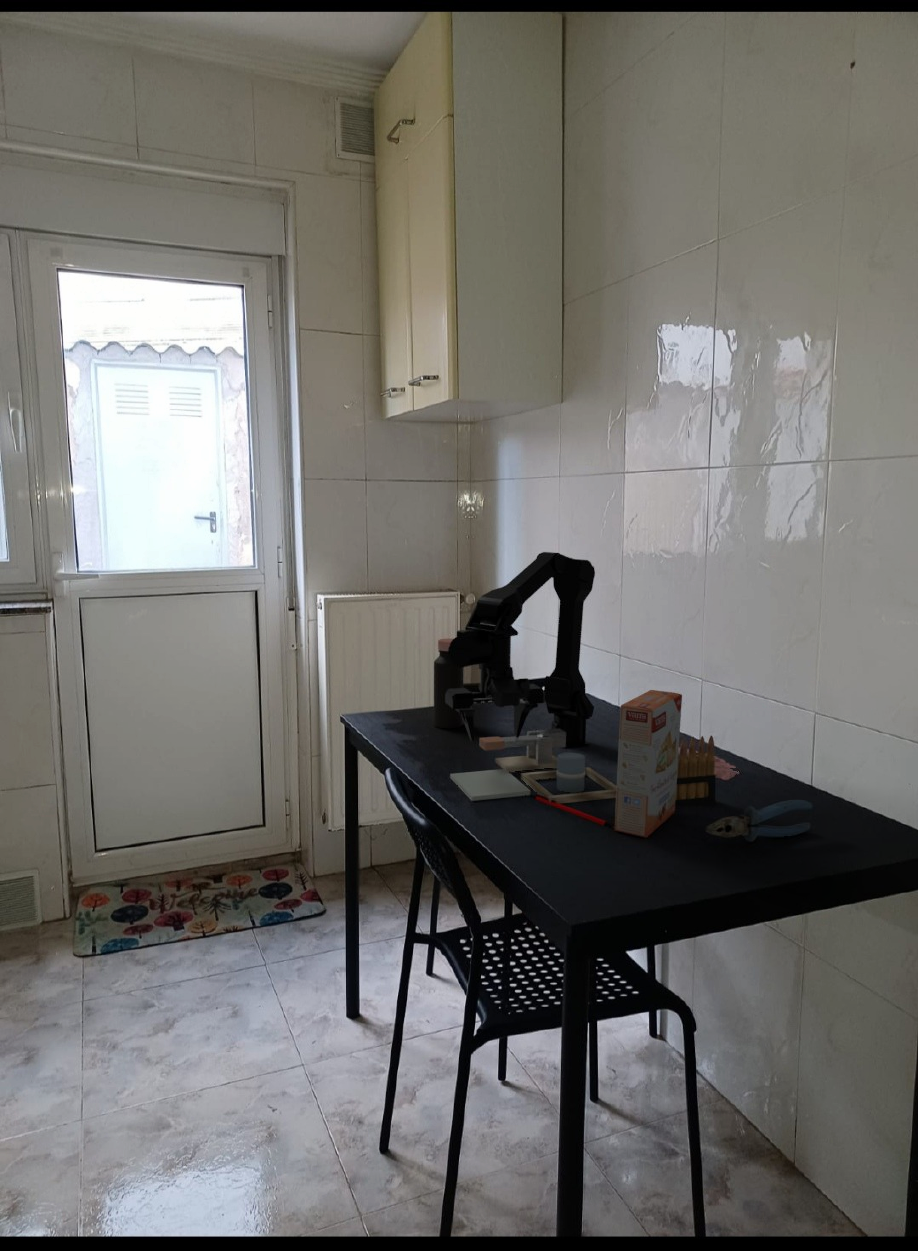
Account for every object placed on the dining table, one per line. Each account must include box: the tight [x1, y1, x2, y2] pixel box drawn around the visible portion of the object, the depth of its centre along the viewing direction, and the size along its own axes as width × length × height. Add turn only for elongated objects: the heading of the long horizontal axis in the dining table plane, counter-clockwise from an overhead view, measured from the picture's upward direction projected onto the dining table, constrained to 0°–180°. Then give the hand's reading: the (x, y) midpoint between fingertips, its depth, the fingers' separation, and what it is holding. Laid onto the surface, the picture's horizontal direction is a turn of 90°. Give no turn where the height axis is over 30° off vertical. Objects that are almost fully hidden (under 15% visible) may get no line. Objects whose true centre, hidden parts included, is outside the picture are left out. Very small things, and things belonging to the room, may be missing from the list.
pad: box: [449, 768, 531, 802], centre depth 161 cm, size 11×13×1 cm
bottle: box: [433, 638, 465, 730], centre depth 202 cm, size 7×7×20 cm
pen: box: [530, 793, 615, 829], centre depth 149 cm, size 1×19×1 cm, turn 39°
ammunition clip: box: [675, 735, 717, 808], centre depth 152 cm, size 11×2×12 cm, turn 106°
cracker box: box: [614, 689, 683, 839], centre depth 143 cm, size 14×6×21 cm, turn 148°
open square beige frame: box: [520, 766, 617, 805], centre depth 161 cm, size 14×14×1 cm
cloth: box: [678, 746, 740, 781], centre depth 177 cm, size 20×22×2 cm
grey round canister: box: [556, 752, 586, 794], centre depth 160 cm, size 5×5×6 cm
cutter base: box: [494, 730, 557, 773], centre depth 174 cm, size 12×7×6 cm, turn 107°
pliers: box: [705, 799, 814, 843], centre depth 137 cm, size 20×2×6 cm, turn 112°
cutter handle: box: [478, 728, 567, 751], centre depth 173 cm, size 17×3×3 cm, turn 107°
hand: (494, 739), depth 171 cm, fingers open, 9 cm apart
